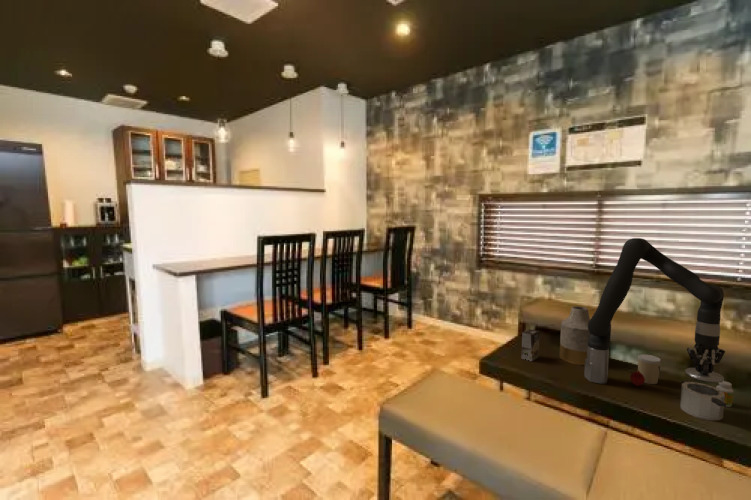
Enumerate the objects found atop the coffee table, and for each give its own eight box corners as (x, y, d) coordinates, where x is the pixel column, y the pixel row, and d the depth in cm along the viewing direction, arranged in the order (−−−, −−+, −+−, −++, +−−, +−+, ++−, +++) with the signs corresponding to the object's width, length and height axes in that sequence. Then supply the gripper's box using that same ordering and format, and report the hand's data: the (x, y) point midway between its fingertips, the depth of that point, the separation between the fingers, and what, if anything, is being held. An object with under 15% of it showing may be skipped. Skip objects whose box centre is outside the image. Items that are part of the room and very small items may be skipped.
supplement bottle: (728, 408, 153) (730, 386, 152) (712, 402, 158) (714, 381, 157) (734, 405, 155) (736, 384, 154) (718, 399, 160) (720, 379, 159)
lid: (700, 382, 143) (701, 366, 143) (677, 369, 155) (678, 354, 154) (732, 382, 142) (733, 366, 142) (706, 369, 154) (707, 354, 154)
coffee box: (531, 362, 202) (532, 335, 201) (521, 358, 207) (521, 332, 205) (538, 357, 209) (539, 331, 207) (528, 354, 213) (528, 328, 212)
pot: (738, 425, 140) (740, 401, 139) (703, 424, 141) (705, 400, 140) (698, 400, 159) (700, 379, 158) (667, 399, 160) (669, 378, 159)
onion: (645, 389, 169) (646, 374, 168) (630, 387, 172) (631, 371, 171) (643, 384, 174) (644, 369, 173) (629, 382, 177) (630, 366, 176)
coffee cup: (663, 385, 173) (665, 362, 172) (642, 384, 175) (644, 360, 174) (653, 377, 182) (654, 354, 181) (632, 375, 184) (634, 353, 183)
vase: (557, 360, 204) (559, 309, 200) (561, 350, 219) (563, 302, 215) (594, 368, 193) (597, 314, 190) (596, 356, 208) (599, 306, 205)
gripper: (696, 335, 144) (693, 375, 145) (733, 335, 143) (730, 376, 144) (682, 329, 151) (679, 367, 153) (717, 329, 150) (714, 368, 152)
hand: (704, 371), depth 149 cm, fingers closed on lid, 3 cm apart
